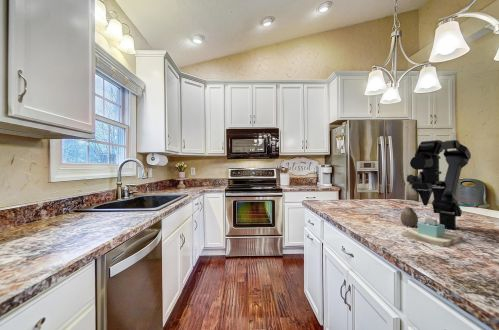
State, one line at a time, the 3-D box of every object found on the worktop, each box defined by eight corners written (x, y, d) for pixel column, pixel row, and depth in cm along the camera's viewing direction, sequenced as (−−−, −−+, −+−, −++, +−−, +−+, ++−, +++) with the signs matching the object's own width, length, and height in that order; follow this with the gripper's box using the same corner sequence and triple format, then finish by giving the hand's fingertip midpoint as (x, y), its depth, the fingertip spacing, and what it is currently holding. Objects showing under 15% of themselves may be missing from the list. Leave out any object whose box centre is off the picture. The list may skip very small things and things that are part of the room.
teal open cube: (444, 235, 87) (444, 224, 87) (436, 237, 84) (436, 226, 84) (426, 230, 92) (426, 220, 92) (417, 233, 90) (417, 222, 90)
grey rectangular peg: (427, 232, 90) (427, 218, 90) (437, 235, 87) (437, 220, 87) (425, 233, 89) (425, 218, 89) (435, 235, 86) (435, 220, 86)
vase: (421, 228, 101) (421, 209, 101) (404, 227, 103) (404, 208, 103) (413, 224, 108) (413, 206, 108) (397, 223, 110) (397, 206, 110)
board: (421, 230, 98) (421, 227, 98) (462, 240, 85) (462, 236, 85) (401, 235, 91) (401, 232, 91) (443, 246, 78) (443, 242, 78)
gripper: (421, 168, 107) (421, 200, 107) (398, 169, 99) (399, 203, 99) (450, 168, 97) (450, 203, 97) (427, 169, 89) (427, 207, 89)
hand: (431, 204), depth 96 cm, fingers open, 9 cm apart
